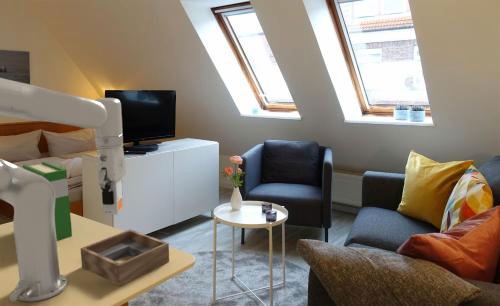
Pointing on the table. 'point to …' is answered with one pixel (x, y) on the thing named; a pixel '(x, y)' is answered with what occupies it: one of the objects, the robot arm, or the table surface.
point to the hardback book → (57, 196)
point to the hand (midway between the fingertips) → (112, 199)
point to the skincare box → (115, 199)
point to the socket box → (118, 246)
